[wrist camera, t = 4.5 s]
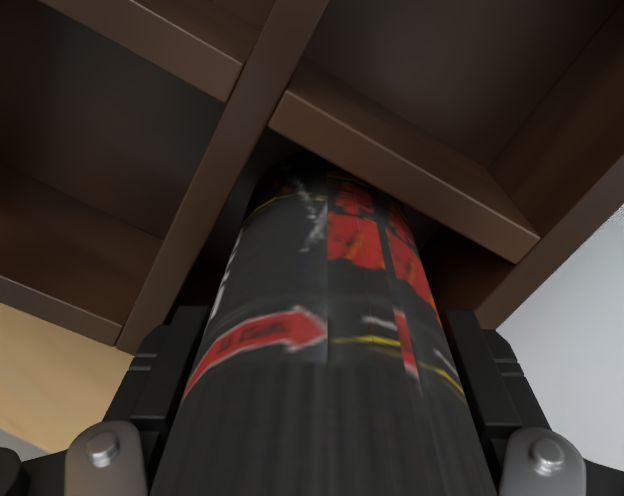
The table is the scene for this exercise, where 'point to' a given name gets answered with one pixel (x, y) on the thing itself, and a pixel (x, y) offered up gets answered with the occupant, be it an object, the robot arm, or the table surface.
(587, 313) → the table surface
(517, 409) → the robot arm
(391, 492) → the deodorant
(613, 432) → the table surface
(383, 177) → the rack
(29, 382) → the table surface
